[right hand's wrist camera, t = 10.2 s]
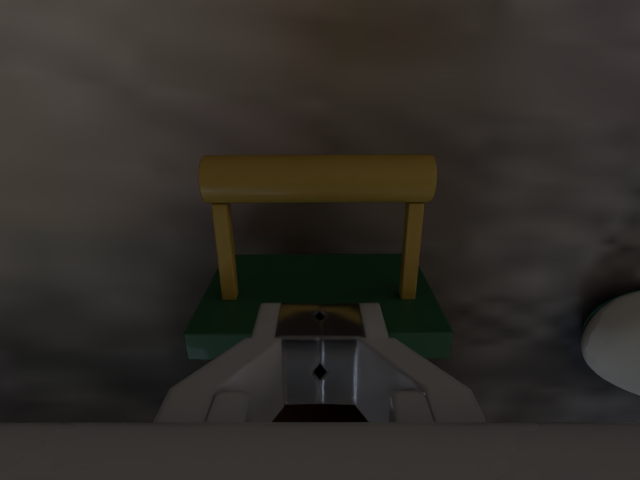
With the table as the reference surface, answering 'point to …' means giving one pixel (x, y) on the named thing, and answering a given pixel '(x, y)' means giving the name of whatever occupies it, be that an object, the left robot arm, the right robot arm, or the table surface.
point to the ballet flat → (615, 341)
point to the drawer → (318, 256)
